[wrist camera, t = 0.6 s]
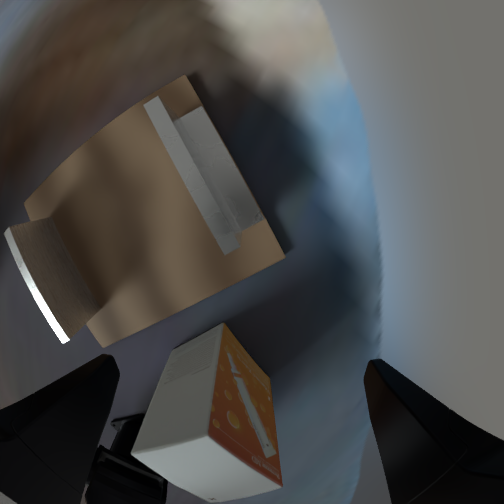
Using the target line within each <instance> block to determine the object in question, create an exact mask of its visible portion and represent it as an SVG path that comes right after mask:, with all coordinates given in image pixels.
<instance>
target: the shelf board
mask: <svg viewBox="0 0 504 504" xmlns="http://www.w3.org/2000/svg"><path fill="white" fill-rule="evenodd" d="M157 96H159V97H160V98H161V99H162V100H163V101H164V102H165V103H166V104H167V105H168V106H169V107H170V108H171V109H172V110H173V111H174V112H175V113H176V115H177V116H178V117H179V118H181V117H183V116H184V115H186V114H188V113H190V112H191V111H193V110H195V109H197V108H199V107H201V106H202V107H203V109H204V110H205V108H204V106H203V104H202V103H201V101H200V99H199V97H198V96H197V94H196V92H195V91H194V89H193V87H192V85H191V84H190V82H189V80H188V79H187V77H186V75H183V76H182V77H180V78H178V79H176V80H174V81H173V82H171V83H169V84H167V85H166V86H164V87H162V88H161V89H159V90H157V91H156V92H154V93H152V94H151V95H149V96H148V97H146V98H145V99H143V100H141V101H140V102H138V103H137V104H135V105H134V106H132V107H131V108H130V109H128V110H127V111H125V112H124V113H122V114H121V115H120V116H118V117H117V118H116V119H114V120H113V121H111V122H110V123H109V124H108V125H106V126H105V127H104V128H102V129H101V130H100V131H99V132H97V133H96V134H95V135H94V136H92V137H91V138H90V139H89V140H87V141H86V142H85V143H84V144H83V145H82V146H80V147H79V148H78V149H77V150H76V151H75V152H74V153H72V154H71V155H70V156H69V157H68V158H67V159H66V160H65V161H64V162H63V163H62V164H61V165H60V166H59V167H57V168H56V169H55V170H54V171H53V172H52V173H51V174H50V175H49V176H48V177H47V178H46V179H45V181H44V182H43V183H42V184H41V185H40V186H39V187H38V188H37V189H36V190H35V191H34V192H33V193H32V194H31V196H30V197H29V198H28V199H27V200H26V201H25V202H24V205H25V208H26V211H27V213H28V216H29V218H30V221H35V220H39V219H44V218H48V217H52V219H53V221H54V223H55V226H56V228H57V230H58V232H59V234H60V236H61V238H62V240H63V242H64V244H65V246H66V248H67V250H68V252H69V254H70V256H71V258H72V260H73V262H74V264H75V265H76V267H77V269H78V271H79V273H80V274H81V276H82V278H83V280H84V281H85V283H86V285H87V286H88V288H89V290H90V291H91V293H92V295H93V296H94V298H95V300H96V301H97V303H98V304H99V306H100V307H101V310H100V311H99V312H97V313H96V314H95V315H94V316H93V317H92V318H91V319H90V320H89V321H88V322H87V323H86V325H87V326H88V328H89V329H90V331H91V332H92V334H93V335H94V336H95V338H96V339H97V341H98V342H99V343H100V345H101V346H102V347H103V348H104V347H106V346H108V345H111V344H113V343H115V342H117V341H119V340H121V339H123V338H125V337H127V336H130V335H132V334H134V333H136V332H138V331H140V330H142V329H144V328H146V327H148V326H150V325H153V324H155V323H157V322H159V321H161V320H163V319H165V318H167V317H169V316H171V315H173V314H175V313H177V312H179V311H181V310H183V309H185V308H187V307H189V306H191V305H193V304H195V303H197V302H199V301H201V300H203V299H205V298H207V297H209V296H211V295H213V294H215V293H217V292H219V291H221V290H223V289H225V288H227V287H229V286H231V285H233V284H235V283H237V282H239V281H241V280H243V279H245V278H247V277H249V276H251V275H253V274H255V273H257V272H259V271H261V270H263V269H265V268H266V267H268V266H270V265H272V264H274V263H276V262H278V261H280V260H282V259H284V258H286V257H285V255H284V253H283V251H282V249H281V247H280V245H279V243H278V241H277V239H276V237H275V236H274V234H273V232H272V230H271V228H270V226H269V224H268V222H267V220H266V218H265V216H264V215H263V213H262V211H261V209H260V207H259V205H258V203H257V201H256V200H255V198H254V196H253V194H252V192H251V190H250V188H249V187H248V185H247V183H246V181H245V179H244V177H243V176H242V174H241V172H240V170H239V168H238V166H237V165H236V163H235V161H234V159H233V157H232V156H231V154H230V152H229V150H228V148H227V147H226V145H225V143H224V141H223V139H222V138H221V136H220V134H219V132H218V131H217V129H216V127H215V125H214V123H213V122H212V120H211V118H210V116H209V115H208V113H207V111H206V110H205V112H206V114H207V116H208V117H209V119H210V121H211V123H212V124H213V126H214V128H215V130H216V131H217V133H218V135H219V137H220V138H221V140H222V142H223V144H224V146H225V147H226V149H227V151H228V153H229V155H230V156H231V158H232V160H233V162H234V164H235V165H236V167H237V169H238V171H239V173H240V175H241V176H242V178H243V180H244V182H245V184H246V186H247V187H248V189H249V191H250V193H251V195H252V197H253V199H254V200H255V202H256V204H257V206H258V208H259V210H260V212H261V214H262V215H263V217H264V220H262V221H260V222H258V223H256V224H254V225H252V226H251V227H249V228H247V229H245V230H243V231H242V236H241V247H239V248H238V249H236V250H234V251H232V252H230V253H228V254H226V255H224V253H223V252H222V250H221V248H220V246H219V245H218V243H217V241H216V239H215V237H214V236H213V234H212V232H211V230H210V229H209V227H208V225H207V223H206V221H205V220H204V218H203V216H202V214H201V212H200V211H199V209H198V207H197V205H196V203H195V202H194V200H193V198H192V196H191V194H190V192H189V191H188V189H187V187H186V185H185V183H184V181H183V180H182V178H181V176H180V174H179V172H178V170H177V168H176V167H175V165H174V163H173V161H172V159H171V157H170V155H169V153H168V152H167V150H166V148H165V146H164V144H163V142H162V140H161V138H160V136H159V134H158V133H157V131H156V129H155V127H154V125H153V123H152V121H151V119H150V117H149V115H148V113H147V111H146V109H145V107H144V104H146V103H147V102H149V101H150V100H152V99H153V98H155V97H157Z"/></svg>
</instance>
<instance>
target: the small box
mask: <svg viewBox="0 0 504 504" xmlns="http://www.w3.org/2000/svg"><path fill="white" fill-rule="evenodd" d="M131 455H132V456H134V457H135V458H137V459H138V460H139V461H141V462H142V463H143V464H145V465H146V466H148V467H149V468H151V469H152V470H154V471H155V472H157V473H158V474H160V475H161V476H162V477H164V478H165V479H167V480H168V481H169V482H171V483H173V484H174V485H176V486H178V487H180V488H182V489H184V490H186V491H188V492H190V493H192V494H194V495H196V496H198V497H200V498H202V499H204V500H206V501H208V502H210V503H213V502H222V501H229V500H234V499H240V498H244V497H249V496H253V495H257V494H261V493H265V492H268V491H272V490H275V489H278V488H282V487H283V484H282V476H281V468H280V460H279V451H278V443H277V434H276V425H275V417H274V409H273V400H272V391H271V383H270V378H269V377H268V376H267V375H266V374H265V373H264V372H263V371H262V369H261V368H260V367H259V366H258V365H257V364H256V363H255V361H254V360H253V359H252V358H251V357H250V355H249V354H248V353H247V352H246V350H245V349H244V348H243V347H242V345H241V344H240V343H239V342H238V340H237V339H236V338H235V336H234V335H233V334H232V332H231V331H230V330H229V328H228V327H227V326H226V324H225V323H221V324H219V325H218V326H216V327H214V328H212V329H210V330H209V331H207V332H205V333H203V334H201V335H200V336H198V337H196V338H194V339H192V340H190V341H188V342H187V343H185V344H183V345H181V346H179V347H177V348H175V349H173V350H172V352H171V354H170V356H169V359H168V361H167V363H166V366H165V368H164V370H163V373H162V375H161V378H160V380H159V382H158V385H157V388H156V390H155V393H154V395H153V398H152V400H151V403H150V405H149V407H148V410H147V413H146V415H145V418H144V420H143V423H142V426H141V428H140V431H139V433H138V436H137V438H136V441H135V444H134V446H133V449H132V451H131Z"/></svg>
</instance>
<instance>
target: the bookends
mask: <svg viewBox="0 0 504 504" xmlns="http://www.w3.org/2000/svg"><path fill="white" fill-rule="evenodd" d="M144 107H145V109H146V111H147V113H148V115H149V117H150V119H151V121H152V123H153V125H154V127H155V129H156V131H157V133H158V134H159V136H160V138H161V140H162V142H163V144H164V146H165V148H166V150H167V152H168V153H169V155H170V157H171V159H172V161H173V163H174V165H175V167H176V168H177V170H178V172H179V174H180V176H181V178H182V180H183V181H184V183H185V185H186V187H187V189H188V191H189V192H190V194H191V196H192V198H193V200H194V202H195V203H196V205H197V207H198V209H199V211H200V212H201V214H202V216H203V218H204V220H205V221H206V223H207V225H208V227H209V229H210V230H211V232H212V234H213V236H214V237H215V239H216V241H217V243H218V245H219V246H220V248H221V250H222V252H223V253H224V255H226V254H228V253H230V252H232V251H234V250H236V249H238V248H239V247H241V236H242V231H243V230H245V229H247V228H249V227H251V226H252V225H254V224H256V223H258V222H260V221H262V220H264V217H263V215H262V214H261V212H260V210H259V208H258V206H257V204H256V202H255V200H254V199H253V197H252V195H251V193H250V191H249V189H248V187H247V186H246V184H245V182H244V180H243V178H242V176H241V175H240V173H239V171H238V169H237V167H236V165H235V164H234V162H233V160H232V158H231V156H230V155H229V153H228V151H227V149H226V147H225V146H224V144H223V142H222V140H221V138H220V137H219V135H218V133H217V131H216V130H215V128H214V126H213V124H212V123H211V121H210V119H209V117H208V116H207V114H206V112H205V110H204V109H203V107H202V106H201V107H199V108H197V109H195V110H193V111H191V112H190V113H188V114H186V115H184V116H183V117H181V118H179V117H178V116H177V115H176V113H175V112H174V111H173V110H172V109H171V108H170V107H169V106H168V105H167V104H166V103H165V102H164V101H163V100H162V99H161V98H160V97H159V96H157V97H155V98H153V99H152V100H150V101H149V102H147V103H146V104H144ZM4 235H5V237H6V240H7V242H8V245H9V247H10V250H11V252H12V254H13V256H14V259H15V261H16V263H17V265H18V267H19V269H20V272H21V274H22V276H23V278H24V280H25V282H26V284H27V286H28V287H29V289H30V291H31V293H32V295H33V297H34V298H35V300H36V302H37V304H38V305H39V307H40V309H41V311H42V312H43V314H44V316H45V317H46V319H47V320H48V322H49V324H50V325H51V327H52V328H53V330H54V331H55V333H56V334H57V336H58V337H59V339H60V340H61V342H62V343H64V342H66V341H68V340H69V339H70V338H71V337H72V336H73V335H74V334H75V333H77V332H78V331H79V330H80V329H81V328H82V327H83V326H84V325H85V324H86V323H87V322H88V321H89V320H90V319H91V318H92V317H93V316H94V315H95V314H96V313H97V312H99V311H100V310H101V307H100V306H99V304H98V303H97V301H96V300H95V298H94V296H93V295H92V293H91V291H90V290H89V288H88V286H87V285H86V283H85V281H84V280H83V278H82V276H81V274H80V273H79V271H78V269H77V267H76V265H75V264H74V262H73V260H72V258H71V256H70V254H69V252H68V250H67V248H66V246H65V244H64V242H63V240H62V238H61V236H60V234H59V232H58V230H57V228H56V226H55V223H54V221H53V219H52V217H48V218H44V219H39V220H35V221H31V222H26V223H22V224H18V225H14V226H11V227H9V228H8V229H7V230H6V231H5V233H4Z"/></svg>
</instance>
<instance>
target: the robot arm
mask: <svg viewBox="0 0 504 504" xmlns="http://www.w3.org/2000/svg"><path fill="white" fill-rule="evenodd" d="M119 378H120V372H119V369H118V367H117V364H116V362H115V359H114V357H113V356H112V355H107V354H102V355H100V356H98V357H96V358H95V359H93V360H91V361H89V362H88V363H86V364H84V365H82V366H81V367H79V368H77V369H75V370H74V371H72V372H70V373H68V374H67V375H65V376H63V377H61V378H60V379H58V380H56V381H54V382H53V383H51V384H49V385H47V386H45V387H44V388H42V389H40V390H38V391H37V392H35V393H34V394H31V395H29V396H28V397H26V398H24V399H22V400H20V401H18V402H16V403H14V404H12V405H10V406H7V407H5V408H3V409H0V504H80V502H81V499H82V494H83V491H84V488H85V485H86V486H88V488H87V491H86V493H85V504H165V503H166V497H167V484H168V480H167V479H165V478H164V477H162V476H161V475H160V474H158V473H157V472H155V471H154V470H152V469H151V468H149V467H148V466H146V465H145V464H143V463H142V462H141V461H139V460H138V459H137V458H135V457H134V456H132V455H131V451H132V449H133V446H134V444H135V441H136V438H137V436H138V433H139V431H140V428H141V426H142V423H143V420H144V418H145V415H142V414H140V415H136V416H132V417H128V418H123V419H118V420H113V421H111V423H110V424H111V425H112V426H113V427H114V428H115V429H116V430H117V431H118V432H117V434H116V437H115V439H114V441H113V443H112V446H111V448H110V450H108V449H107V448H105V447H104V446H102V445H100V446H99V448H98V444H99V441H100V438H101V435H102V432H103V430H104V427H105V424H106V421H107V419H108V416H109V413H110V410H111V407H112V404H113V400H114V396H115V392H116V389H117V385H118V381H119ZM364 386H365V392H366V398H367V403H368V409H369V415H370V420H371V424H372V427H373V430H374V434H375V438H376V441H377V445H378V449H379V453H380V456H381V460H382V464H383V468H384V472H385V476H386V480H387V484H388V489H389V493H390V498H391V503H392V504H504V440H502V439H500V438H498V437H496V436H493V435H492V434H490V433H488V432H486V431H484V430H483V429H481V428H479V427H477V426H476V425H474V424H472V423H470V422H469V421H467V420H466V419H464V418H463V417H461V416H460V415H458V414H457V413H455V412H454V411H453V410H451V409H449V408H448V407H447V406H445V405H444V404H443V403H441V402H440V401H438V400H437V399H436V398H434V397H433V396H432V395H430V394H429V393H427V392H426V391H425V390H423V389H422V388H420V387H419V386H418V385H416V384H415V383H413V382H412V381H411V380H409V379H408V378H407V377H405V376H404V375H403V374H401V373H400V372H398V371H397V370H396V369H394V368H393V367H392V366H390V365H389V364H387V363H386V362H385V361H383V360H382V359H373V360H370V361H369V362H368V365H367V369H366V372H365V375H364Z"/></svg>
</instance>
